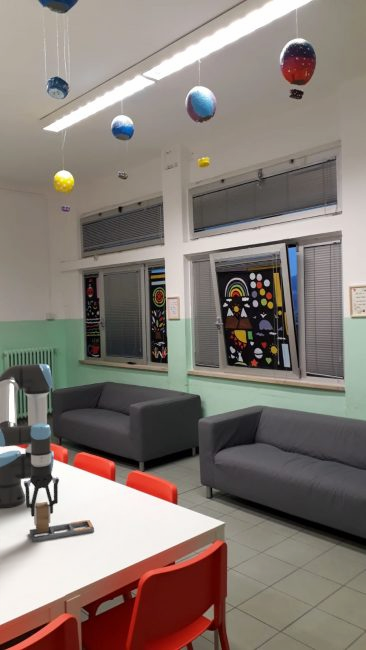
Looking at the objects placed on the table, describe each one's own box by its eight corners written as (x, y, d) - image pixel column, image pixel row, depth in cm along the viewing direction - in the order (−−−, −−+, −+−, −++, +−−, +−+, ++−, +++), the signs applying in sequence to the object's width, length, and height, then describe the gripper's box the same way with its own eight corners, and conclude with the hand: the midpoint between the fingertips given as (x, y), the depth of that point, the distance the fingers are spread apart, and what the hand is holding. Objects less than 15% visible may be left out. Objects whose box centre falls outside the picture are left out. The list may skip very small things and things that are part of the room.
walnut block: (35, 528, 201) (35, 503, 201) (47, 526, 203) (47, 501, 203) (37, 532, 197) (36, 507, 197) (48, 531, 199) (48, 505, 198)
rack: (29, 533, 202) (29, 529, 202) (89, 523, 211) (89, 519, 211) (31, 542, 194) (31, 538, 194) (94, 531, 202) (94, 527, 202)
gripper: (18, 469, 193) (19, 530, 193) (65, 463, 199) (66, 522, 200) (17, 464, 200) (18, 523, 200) (62, 459, 206) (63, 515, 206)
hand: (42, 522), depth 200 cm, fingers closed on walnut block, 4 cm apart
